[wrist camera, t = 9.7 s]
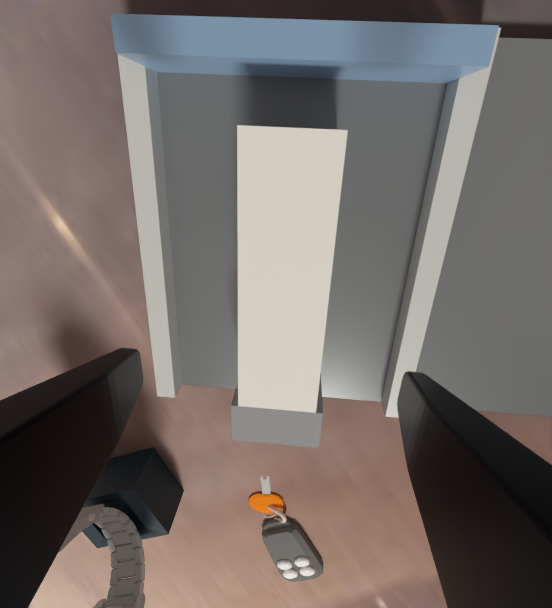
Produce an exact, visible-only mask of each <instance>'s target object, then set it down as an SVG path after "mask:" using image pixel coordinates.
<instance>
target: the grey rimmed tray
mask: <svg viewBox="0 0 552 608" xmlns="http://www.w3.org/2000/svg"><path fill="white" fill-rule="evenodd" d="M110 14H111V13H110ZM111 22H112V31H113V39H114V48H115V53H117V54H118V61H119V70H120V78H121V87H122V96H123V104H124V113H125V121H126V130H127V139H128V147H129V156H130V164H131V173H132V182H133V190H134V199H135V208H136V216H137V225H138V233H139V242H140V251H141V259H142V268H143V276H144V285H145V294H146V302H147V311H148V320H149V328H150V337H151V345H152V354H153V363H154V371H155V380H156V388H157V396H162V397H173V398H175V397H176V395H177V393H178V391H179V389H180V387H181V385H182V384H183V385H195V386H206V387H218V388H229V389H236V387H237V384H238V231H237V125H244V126H267V127H290V128H312V129H335V130H348V133H347V142H346V151H345V160H344V168H343V177H342V186H341V195H340V204H339V213H338V222H337V231H336V240H335V248H334V257H333V266H332V275H331V284H330V293H329V302H328V311H327V320H326V329H325V337H324V346H323V355H322V364H321V387H322V397H333V398H344V399H356V400H367V401H378V402H381V403H382V406H383V410H384V413H385V416H386V417H397V418H399V416H398V410H397V399H398V395H399V390H400V386H401V382H402V378H403V375H404V373H405V372H407V371H412V372H422V373H424V374H426V375H427V376H429V377H430V378H431V379H433V380H434V381H436V382H437V383H438V384H440V385H441V386H443V387H444V388H445V389H447V390H448V391H449V392H451V393H452V394H454V395H455V396H456V397H458V398H459V399H461V400H462V401H463V402H465V403H466V404H467V405H469V406H470V407H472V408H473V409H474V410H482V411H493V412H505V413H516V414H528V415H539V416H551V417H552V39H528V38H499V35H500V31H501V28H499V25H472V24H439V23H406V22H374V21H341V20H308V19H275V18H242V17H209V16H176V15H144V14H111Z"/></svg>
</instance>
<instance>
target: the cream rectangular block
mask: <svg viewBox="0 0 552 608" xmlns="http://www.w3.org/2000/svg"><path fill="white" fill-rule="evenodd" d="M347 133H348V130H335V129H312V128H290V127H267V126H244V125H237V231H238V384H237V387H236V391H235V394H234V398H233V401H232V404H231V428H232V440H239V441H250V442H260V443H271V444H282V445H293V446H303V447H314V448H319V442H320V434H321V426H322V417H323V405H322V387H321V364H322V355H323V346H324V337H325V329H326V320H327V311H328V302H329V293H330V284H331V275H332V266H333V257H334V248H335V240H336V231H337V222H338V213H339V204H340V195H341V186H342V177H343V168H344V160H345V151H346V142H347Z"/></svg>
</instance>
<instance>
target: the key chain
mask: <svg viewBox="0 0 552 608" xmlns="http://www.w3.org/2000/svg"><path fill="white" fill-rule="evenodd" d="M269 477H270V476H267V479H263V477H261V478H260V479H261V482H262V493H260V492H258V493H254V494H253V495H251V496H250V498H249V504H250V506H251V507H252V508H253V509H254V510H256V511H259V512H263V513H274V512H276V513H277V514H278V515H280V516H281V517H282V518H273V520H268V521H266V522H264V523H263V532H262V537H263V541H264V544H265V546H266V548H267V550H268V552H269V553H270V555H271V557H272V559H273V561H274V563H275V565H276V567H277V569H278V571H279V573H280V574H281V575H282V576H283V577H284V578H285V579H287V580H288V581H303V580H309V579H314V578H317V577H318V576H320V575H321V574H322V573H323V564H322V560H321V559H320V557H319V555H318V554H317V552H316V551H315V549H314V548H313V546H312V545H311V543H310V542H309V540H308V539H307V537H306V536H305V534H304V533H303V531H302V529H301V528H300V527H299V526H298V525H297V524H296V523H294V522H291V521H290V520H289V518H286V516H285V515H284V514H283V513H282V512H281V511H280V509H282V507H283V504H284V502H283V499H282V498H281V497H280V496H279V495H277V494H274V493H271V490H270V482H269ZM264 516H265V517H266V518H271V517H273V516H274V515H271V516H266V515H264Z"/></svg>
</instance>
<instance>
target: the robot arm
mask: <svg viewBox="0 0 552 608" xmlns="http://www.w3.org/2000/svg"><path fill="white" fill-rule="evenodd" d="M142 384H143V373H142V365H141V358H140V353H139V351H138V350H137V349H129V348H120V349H117V350H115V351H113V352H111V353H108V354H106V355H104V356H101V357H99V358H97V359H94V360H92V361H90V362H88V363H85V364H83V365H81V366H78V367H76V368H74V369H72V370H69V371H67V372H65V373H62V374H60V375H58V376H55V377H53V378H51V379H49V380H46V381H44V382H42V383H39V384H37V385H35V386H33V387H30V388H28V389H26V390H23V391H21V392H19V393H16V394H14V395H12V396H10V397H7V398H5V399H3V400H0V608H28V606H29V605H30V603H31V601H32V599H33V597H34V596H35V594H36V592H37V590H38V588H39V586H40V585H41V583H42V581H43V579H44V577H45V575H46V574H47V572H48V570H49V568H50V566H51V565H52V563H53V561H54V559H55V557H56V555H57V554H58V552H59V550H60V548H61V546H62V544H63V543H64V541H65V539H66V537H67V535H68V534H69V532H70V530H71V528H72V526H73V524H74V523H75V521H76V519H77V517H78V515H79V513H80V512H81V510H82V508H83V506H84V504H85V503H86V501H87V499H88V497H89V495H90V493H91V492H92V490H93V488H94V486H95V484H96V482H97V481H98V479H99V477H100V475H101V473H102V472H103V470H104V468H105V466H106V464H107V462H108V461H109V459H110V457H111V455H112V453H113V451H114V450H115V448H116V446H117V444H118V442H119V440H120V438H121V435H122V433H123V431H124V428H125V426H126V424H127V421H128V419H129V416H130V414H131V411H132V409H133V407H134V404H135V402H136V399H137V397H138V394H139V392H140V390H141V387H142ZM397 410H398V416H399V422H400V428H401V434H402V440H403V446H404V452H405V458H406V463H407V468H408V472H409V476H410V479H411V483H412V486H413V490H414V493H415V497H416V500H417V504H418V507H419V510H420V514H421V517H422V521H423V524H424V528H425V531H426V535H427V538H428V541H429V545H430V548H431V552H432V555H433V559H434V562H435V566H436V569H437V572H438V576H439V579H440V583H441V586H442V590H443V593H444V597H445V600H446V603H447V607H448V608H552V465H551V464H549V463H548V462H547V461H545V460H544V459H542V458H541V457H540V456H538V455H537V454H535V453H534V452H533V451H531V450H530V449H529V448H527V447H526V446H524V445H523V444H522V443H520V442H519V441H517V440H516V439H515V438H513V437H512V436H510V435H509V434H508V433H506V432H505V431H504V430H502V429H501V428H499V427H498V426H497V425H495V424H494V423H492V422H491V421H490V420H488V419H487V418H486V417H484V416H483V415H481V414H480V413H479V412H477V411H476V410H474V409H473V408H472V407H470V406H469V405H467V404H466V403H465V402H463V401H462V400H461V399H459V398H458V397H456V396H455V395H454V394H452V393H451V392H449V391H448V390H447V389H445V388H444V387H443V386H441V385H440V384H438V383H437V382H436V381H434V380H433V379H431V378H430V377H429V376H427V375H426V374H424V373H422V372H412V371H407V372H405V373H404V375H403V378H402V382H401V386H400V390H399V395H398V399H397Z"/></svg>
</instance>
